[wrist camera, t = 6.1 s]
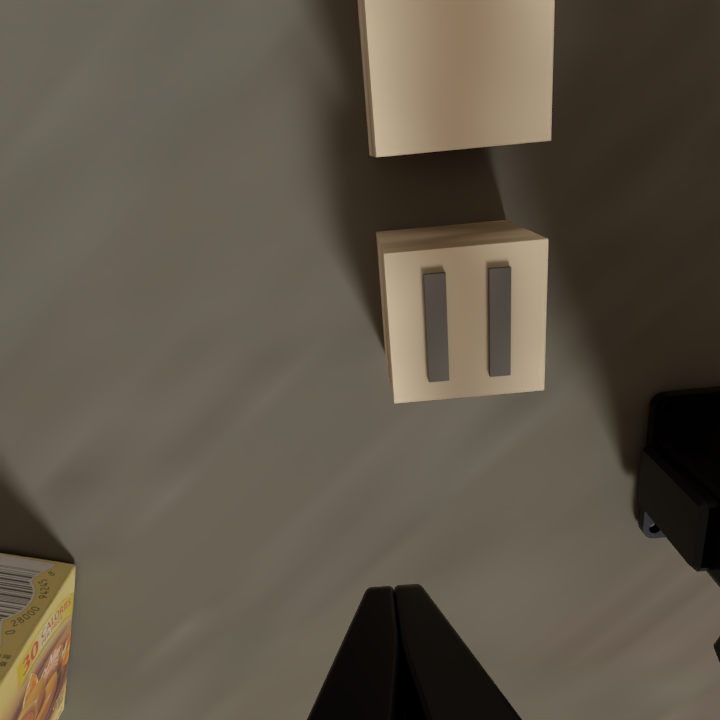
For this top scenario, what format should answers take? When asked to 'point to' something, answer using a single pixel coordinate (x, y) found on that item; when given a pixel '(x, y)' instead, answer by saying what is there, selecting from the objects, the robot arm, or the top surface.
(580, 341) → the top surface
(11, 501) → the top surface
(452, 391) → the two mark block
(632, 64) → the top surface
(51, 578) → the candy box
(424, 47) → the plain block
